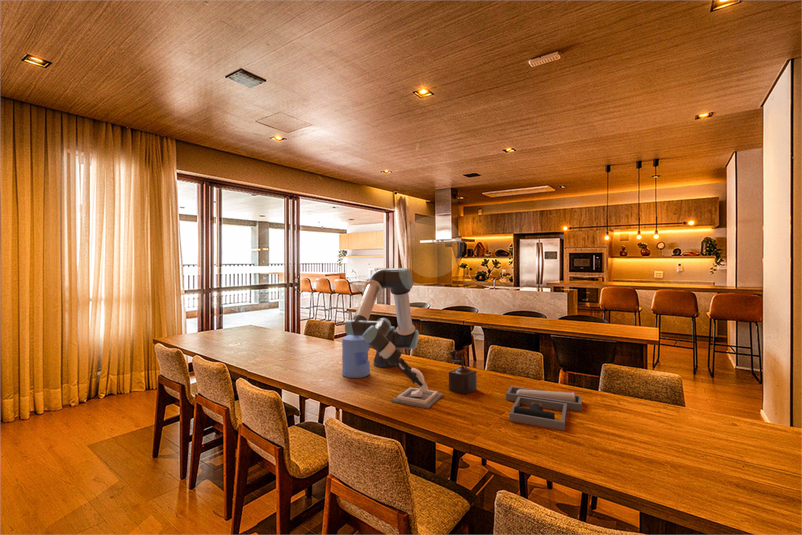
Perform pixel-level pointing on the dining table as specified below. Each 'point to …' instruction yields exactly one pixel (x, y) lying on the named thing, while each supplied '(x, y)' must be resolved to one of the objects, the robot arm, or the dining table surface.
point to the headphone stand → (418, 392)
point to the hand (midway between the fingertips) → (425, 387)
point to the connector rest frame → (538, 420)
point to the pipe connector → (535, 411)
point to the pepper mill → (462, 377)
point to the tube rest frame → (570, 405)
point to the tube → (548, 394)
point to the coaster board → (418, 398)
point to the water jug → (355, 357)
